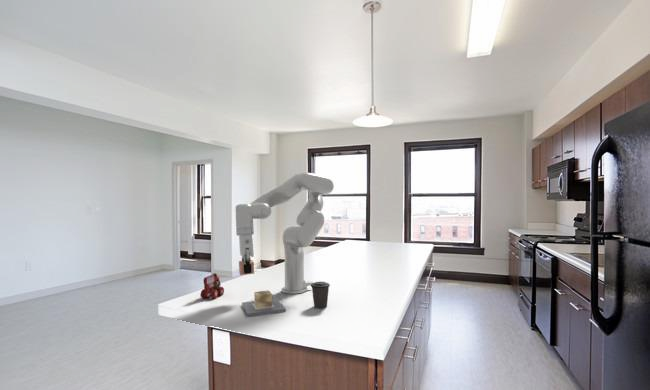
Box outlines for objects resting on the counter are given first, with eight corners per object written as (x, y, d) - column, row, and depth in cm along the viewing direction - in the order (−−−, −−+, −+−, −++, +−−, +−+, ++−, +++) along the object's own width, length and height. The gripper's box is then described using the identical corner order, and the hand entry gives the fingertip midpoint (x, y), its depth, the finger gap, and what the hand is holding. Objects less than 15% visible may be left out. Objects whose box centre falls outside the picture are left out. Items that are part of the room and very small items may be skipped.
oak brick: (268, 302, 134) (268, 290, 135) (271, 306, 129) (271, 293, 129) (254, 304, 132) (254, 291, 132) (257, 308, 127) (257, 295, 127)
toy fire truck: (226, 293, 153) (226, 271, 154) (211, 301, 141) (211, 277, 141) (213, 292, 155) (213, 271, 155) (198, 300, 143) (198, 277, 143)
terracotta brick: (252, 270, 145) (252, 259, 145) (254, 273, 140) (253, 262, 140) (239, 272, 143) (238, 261, 144) (240, 275, 138) (239, 263, 138)
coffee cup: (316, 311, 126) (315, 285, 127) (307, 305, 134) (307, 281, 134) (333, 307, 130) (333, 283, 130) (324, 302, 137) (324, 279, 138)
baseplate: (276, 301, 140) (276, 298, 140) (285, 311, 126) (285, 308, 126) (242, 305, 134) (242, 302, 134) (247, 316, 121) (247, 313, 121)
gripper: (256, 232, 135) (258, 274, 135) (250, 229, 151) (252, 266, 151) (238, 234, 132) (240, 276, 132) (234, 230, 148) (235, 268, 148)
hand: (246, 271), depth 142 cm, fingers closed on terracotta brick, 6 cm apart
